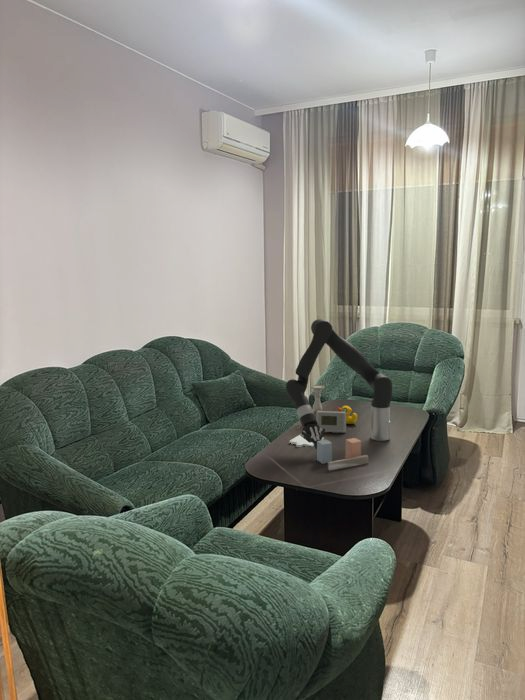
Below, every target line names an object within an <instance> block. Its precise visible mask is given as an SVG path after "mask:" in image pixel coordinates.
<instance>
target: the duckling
mask: <svg viewBox="0 0 525 700" xmlns="http://www.w3.org/2000/svg"><path fill="white" fill-rule="evenodd" d="M337 412H346V425H347V424H348V425H350V424H351V425H352V424H355V423H356V422H357V421H358V414H357V413H356V412H353V410H352V408H351V407H350V406H349V405H343V406H342V407H339V406H338V407H337ZM352 412H353V413H352ZM351 413H352V415H351V416H350V414H351Z"/></svg>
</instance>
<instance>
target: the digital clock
mask: <svg viewBox="0 0 525 700" xmlns="http://www.w3.org/2000/svg"><path fill="white" fill-rule="evenodd" d="M316 420H317V423H318V425H319V426H320V428H322V429H323V428H324V429H325V432H324V433H327V432H332V433H335V434H341V433H344V434H345V433H346V431H347V424H346V412H339V411H338V410H337V411H331V410H329V411H327V410H324V411H323V410H321V411H317V412H316ZM319 433H320V431H319Z"/></svg>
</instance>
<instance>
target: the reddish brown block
mask: <svg viewBox="0 0 525 700" xmlns="http://www.w3.org/2000/svg"><path fill="white" fill-rule="evenodd" d="M344 453H345V457H344V459H348V458H353V457H358V456H362V455H361V454H362V441H361V440H360V439H358V438H356V437H352V438H347V439H345V452H344Z"/></svg>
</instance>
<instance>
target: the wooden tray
mask: <svg viewBox="0 0 525 700" xmlns="http://www.w3.org/2000/svg"><path fill="white" fill-rule="evenodd" d="M366 464H369V455H367V454H364V455H361V456H358V457H353V458H348V459H346V458H343V459H338V460H332V462H328V463H327V471H330V472H331V471H335V470H339V469H340V470H341V469H345V468H351V467H355V466H360V465H366Z"/></svg>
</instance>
